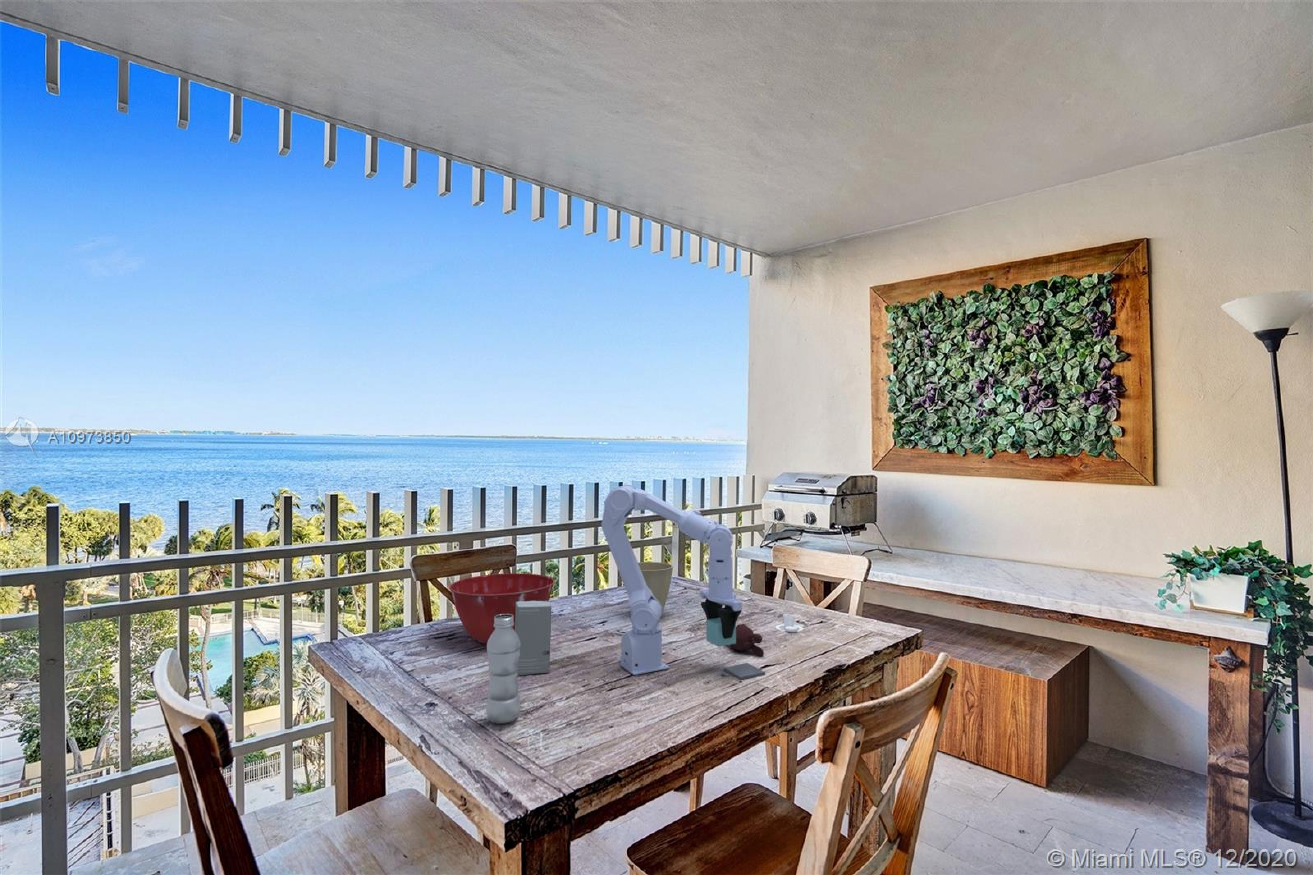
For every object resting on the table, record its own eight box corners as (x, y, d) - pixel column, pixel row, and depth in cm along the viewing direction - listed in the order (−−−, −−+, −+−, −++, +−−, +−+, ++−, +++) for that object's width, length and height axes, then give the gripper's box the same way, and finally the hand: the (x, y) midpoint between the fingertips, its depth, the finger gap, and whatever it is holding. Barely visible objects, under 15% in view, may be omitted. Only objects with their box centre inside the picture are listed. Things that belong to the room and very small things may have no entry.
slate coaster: (740, 679, 139) (740, 677, 139) (723, 670, 145) (723, 667, 145) (765, 674, 142) (765, 672, 142) (747, 665, 148) (747, 662, 148)
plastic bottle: (523, 712, 121) (524, 611, 121) (516, 728, 114) (517, 621, 114) (490, 713, 121) (491, 611, 121) (481, 728, 114) (482, 621, 114)
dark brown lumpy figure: (708, 622, 162) (751, 641, 151) (728, 610, 167) (770, 628, 155) (711, 645, 164) (754, 666, 152) (731, 634, 168) (773, 653, 157)
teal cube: (718, 646, 141) (718, 624, 141) (706, 640, 145) (706, 619, 146) (736, 643, 143) (735, 622, 143) (723, 637, 148) (723, 616, 148)
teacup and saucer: (797, 636, 173) (797, 621, 173) (770, 631, 177) (770, 617, 177) (806, 628, 181) (806, 614, 181) (781, 624, 185) (781, 610, 185)
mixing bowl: (432, 636, 170) (432, 580, 171) (523, 617, 189) (523, 568, 190) (476, 662, 149) (477, 599, 150) (574, 639, 168) (574, 583, 168)
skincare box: (514, 676, 140) (515, 607, 140) (513, 666, 147) (513, 600, 147) (551, 673, 142) (552, 605, 143) (548, 663, 149) (549, 598, 150)
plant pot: (681, 614, 193) (681, 564, 194) (656, 626, 181) (656, 572, 181) (642, 608, 201) (642, 559, 202) (615, 618, 189) (616, 567, 189)
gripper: (752, 580, 140) (753, 640, 140) (717, 570, 153) (717, 624, 153) (727, 584, 137) (728, 645, 137) (693, 573, 150) (693, 628, 149)
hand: (720, 634), depth 144 cm, fingers closed on teal cube, 5 cm apart
